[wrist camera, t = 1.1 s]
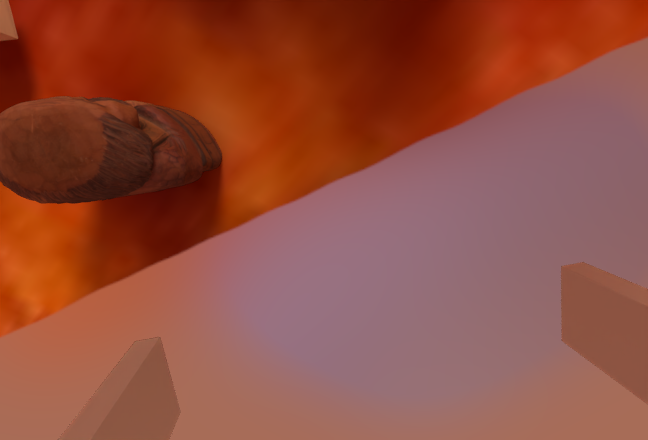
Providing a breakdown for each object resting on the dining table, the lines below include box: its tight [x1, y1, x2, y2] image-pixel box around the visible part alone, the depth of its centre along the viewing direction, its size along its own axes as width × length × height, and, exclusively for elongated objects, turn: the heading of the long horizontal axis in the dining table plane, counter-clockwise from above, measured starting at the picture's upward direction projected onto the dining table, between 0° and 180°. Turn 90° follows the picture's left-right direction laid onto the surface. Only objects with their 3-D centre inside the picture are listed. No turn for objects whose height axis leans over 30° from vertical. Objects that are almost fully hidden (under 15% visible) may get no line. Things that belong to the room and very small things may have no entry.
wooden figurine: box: [0, 96, 222, 204], centre depth 26 cm, size 12×6×18 cm, turn 96°
